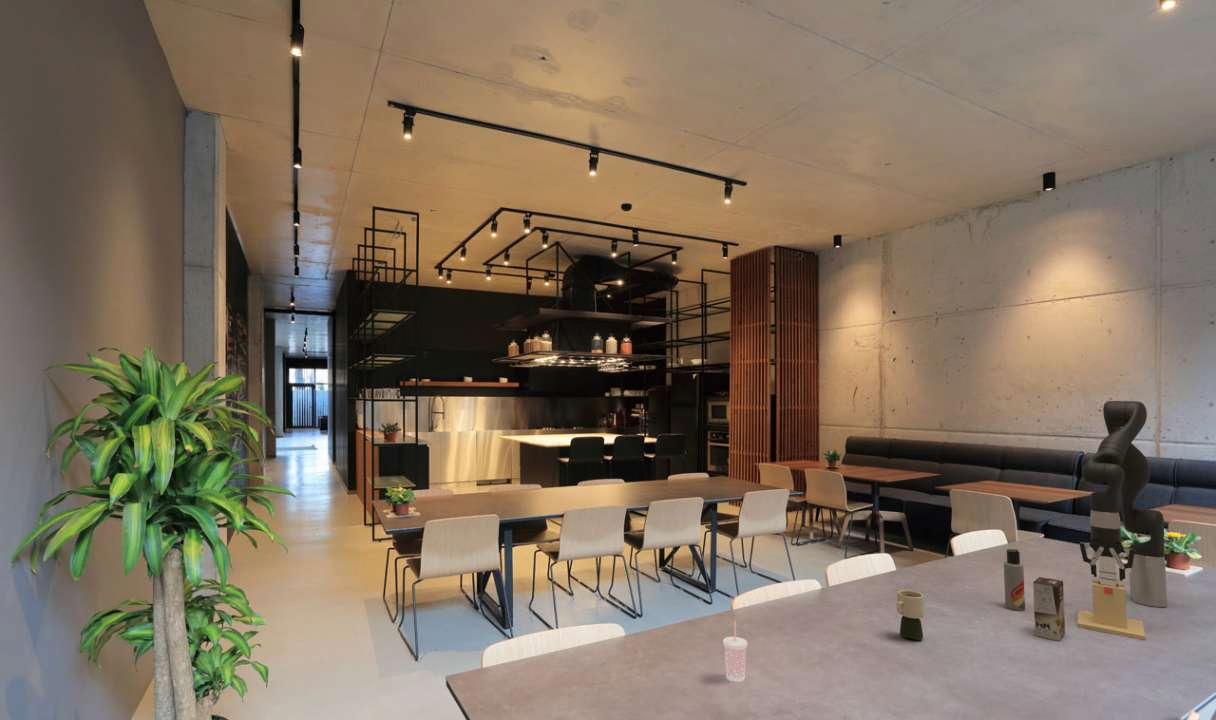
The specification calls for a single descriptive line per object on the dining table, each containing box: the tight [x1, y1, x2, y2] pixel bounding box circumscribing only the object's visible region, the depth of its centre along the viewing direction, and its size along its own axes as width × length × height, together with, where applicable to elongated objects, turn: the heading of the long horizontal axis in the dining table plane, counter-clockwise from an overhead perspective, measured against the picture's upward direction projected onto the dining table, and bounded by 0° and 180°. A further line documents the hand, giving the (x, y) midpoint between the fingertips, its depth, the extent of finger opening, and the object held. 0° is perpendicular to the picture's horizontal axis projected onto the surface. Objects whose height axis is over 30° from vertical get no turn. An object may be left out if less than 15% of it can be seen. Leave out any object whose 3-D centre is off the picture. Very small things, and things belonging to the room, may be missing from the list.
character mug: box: [896, 589, 925, 640], centre depth 179 cm, size 11×7×13 cm, turn 114°
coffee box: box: [1032, 576, 1066, 642], centre depth 183 cm, size 9×6×16 cm
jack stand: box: [1077, 578, 1146, 641], centre depth 190 cm, size 16×16×13 cm
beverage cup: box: [722, 620, 748, 683], centre depth 152 cm, size 6×6×14 cm
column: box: [1098, 555, 1118, 587], centre depth 191 cm, size 4×4×20 cm
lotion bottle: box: [1003, 548, 1026, 612], centre depth 207 cm, size 6×6×20 cm
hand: (1107, 578), depth 191 cm, fingers open, 5 cm apart
